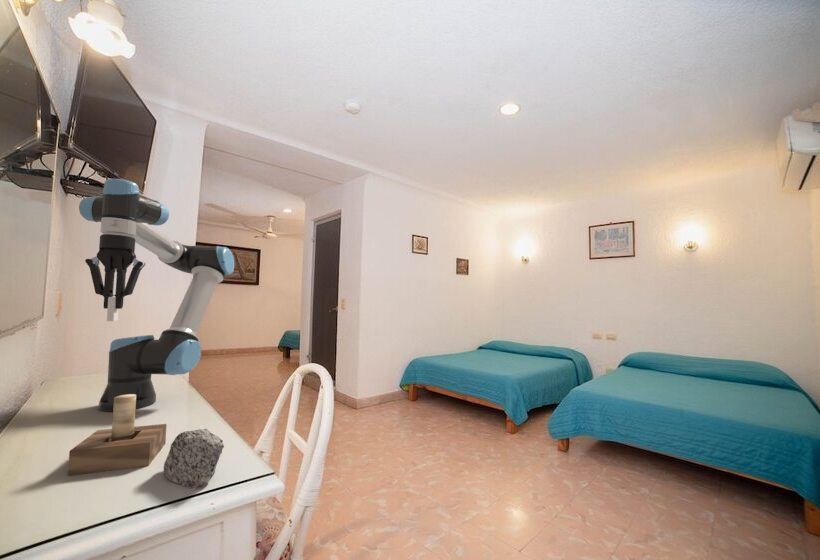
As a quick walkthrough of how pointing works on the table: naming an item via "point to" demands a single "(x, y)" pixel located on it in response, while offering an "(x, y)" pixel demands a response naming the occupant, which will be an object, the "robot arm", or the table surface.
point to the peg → (123, 417)
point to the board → (117, 450)
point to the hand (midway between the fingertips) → (112, 320)
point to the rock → (193, 458)
